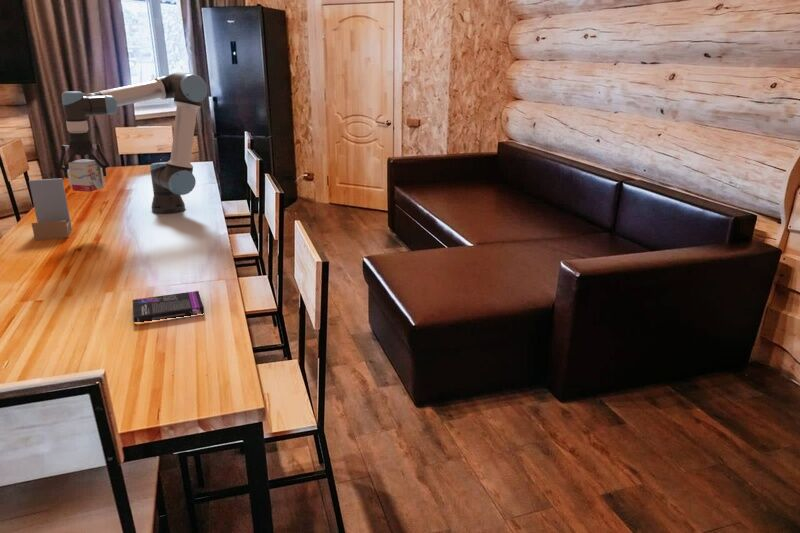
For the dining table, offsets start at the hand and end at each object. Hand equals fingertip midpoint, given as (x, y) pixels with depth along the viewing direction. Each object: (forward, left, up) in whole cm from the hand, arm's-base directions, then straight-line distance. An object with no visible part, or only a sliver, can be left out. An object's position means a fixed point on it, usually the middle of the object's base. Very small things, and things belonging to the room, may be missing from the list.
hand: (87, 185), depth 240 cm
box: (-25, +94, -21) cm, 100 cm away
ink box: (0, 0, -2) cm, 2 cm away
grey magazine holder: (+16, -1, -20) cm, 26 cm away
